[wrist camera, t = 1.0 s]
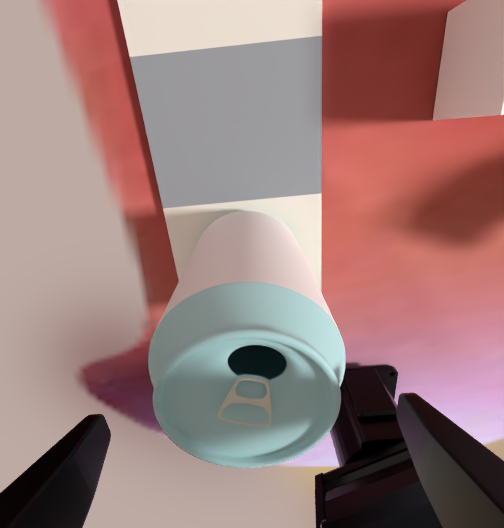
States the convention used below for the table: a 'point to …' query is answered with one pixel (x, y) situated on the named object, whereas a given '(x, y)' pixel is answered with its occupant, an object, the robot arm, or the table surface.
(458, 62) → the die
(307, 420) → the can
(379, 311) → the table surface
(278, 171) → the board
